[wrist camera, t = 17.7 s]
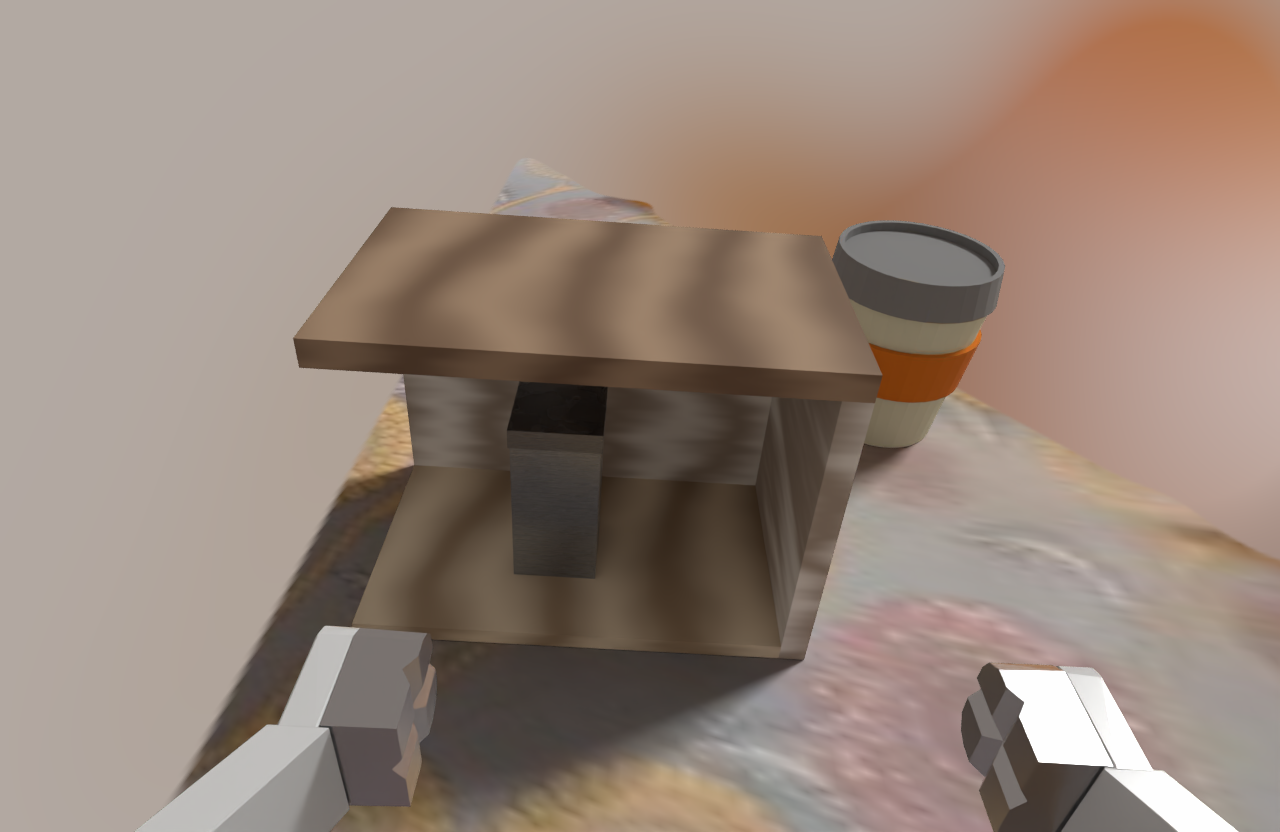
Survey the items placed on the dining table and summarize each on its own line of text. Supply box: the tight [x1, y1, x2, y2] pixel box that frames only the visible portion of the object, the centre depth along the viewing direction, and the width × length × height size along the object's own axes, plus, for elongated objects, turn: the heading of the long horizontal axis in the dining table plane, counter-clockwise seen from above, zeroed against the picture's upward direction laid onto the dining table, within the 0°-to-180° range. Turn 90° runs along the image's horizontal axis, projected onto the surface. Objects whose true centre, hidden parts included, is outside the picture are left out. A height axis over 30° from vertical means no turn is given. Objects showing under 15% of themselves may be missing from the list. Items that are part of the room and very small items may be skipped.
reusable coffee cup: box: [832, 221, 1005, 448], centre depth 64 cm, size 13×13×15 cm
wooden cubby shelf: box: [293, 207, 883, 660], centre depth 48 cm, size 26×16×20 cm, turn 89°
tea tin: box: [507, 381, 608, 579], centre depth 49 cm, size 5×5×11 cm
